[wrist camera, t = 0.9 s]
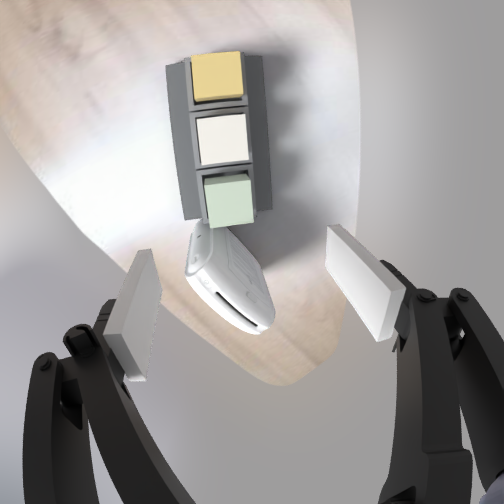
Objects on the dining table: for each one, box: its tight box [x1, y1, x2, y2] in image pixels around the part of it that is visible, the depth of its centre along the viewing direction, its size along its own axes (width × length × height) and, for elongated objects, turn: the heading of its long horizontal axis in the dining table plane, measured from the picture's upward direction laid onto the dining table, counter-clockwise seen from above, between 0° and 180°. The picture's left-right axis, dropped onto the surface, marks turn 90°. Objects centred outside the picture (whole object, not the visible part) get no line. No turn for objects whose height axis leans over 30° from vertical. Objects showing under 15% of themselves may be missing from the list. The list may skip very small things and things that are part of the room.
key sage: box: [204, 174, 254, 228], centre depth 25 cm, size 4×4×3 cm
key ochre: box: [191, 51, 243, 102], centre depth 20 cm, size 4×4×3 cm
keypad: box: [166, 52, 272, 224], centre depth 26 cm, size 18×10×4 cm, turn 4°
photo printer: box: [185, 219, 275, 334], centre depth 29 cm, size 10×4×12 cm, turn 38°
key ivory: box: [197, 114, 249, 165], centre depth 23 cm, size 4×4×3 cm
